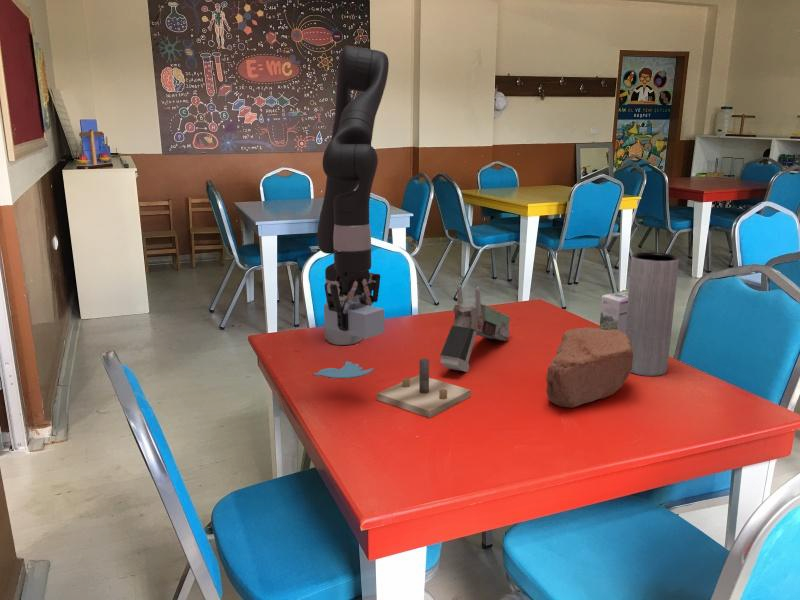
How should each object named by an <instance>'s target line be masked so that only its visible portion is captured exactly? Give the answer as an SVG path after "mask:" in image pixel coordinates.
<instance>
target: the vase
mask: <svg viewBox="0 0 800 600" xmlns="http://www.w3.org/2000/svg"><path fill="white" fill-rule="evenodd" d="M679 259H680V258H679V257H678V256H677V255H674V254H669V253H664V252H663V253H662V252H647V251H646V252H636V253H633V254H632V255H631V260H630V269H629V271H630V272H629V281H628V283H629V284H628V294H627V296H628V304H627V315H626V327H625V334H626V335H627V336H628V337H629V339H630V342H631V346H632V351H633V362H632V370H631V372H630V374H634V375H638V376H645V377H646V376H647V377H658V376H662V375H664V374H666V373H667V372H668V366H669V360H670V359H669V357H670V349H671V337H672V328H673V318H674V311H675V300H676V291H677V290H676V289H677V281H678V280H677V279H678V273H679V272H678V270H679V262H680V260H679Z"/></svg>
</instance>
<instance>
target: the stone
mask: <svg viewBox="0 0 800 600" xmlns="http://www.w3.org/2000/svg"><path fill="white" fill-rule="evenodd" d="M599 328H600V327H591V326H590V327H589V326H586V327H585V326H584V327H576V328H573V329H568V330H565V331H564V332H563V335H562V337H561V342H560V343H559V346H558V347H557V351H556V356H554V358H552V360H551V362H550V364H549V366H548V367H547V372H546V378H545V379H546V396H547V399H548V400H549V401H550V402H551V403H553V404H554V405H556V406H559V407H563V408H571V409H573V408H575V407H579V406H581V405H584V404H588V403H591V402H594V401H596V400H601V399H605V398H607V397H610V396H612V395H614V394H615V393H616V392H617V391H619V390H620V389H621V388H622V387H623V385H624V384H625V382H626V381H627V378H628V377H629V376H630V375H631V370H632V362H633V351H632V346H631V342H630V339H629V337H628V336H627V335H626V334H625V333H623V332H621V331H620V330H616V329H610V330H603V329H599Z"/></svg>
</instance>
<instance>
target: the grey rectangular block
mask: <svg viewBox="0 0 800 600" xmlns="http://www.w3.org/2000/svg"><path fill="white" fill-rule="evenodd" d="M343 304H344V302H343ZM343 304H342V307H343ZM324 313H325V326H324V329H325V328H329V329H332V330H336V331H339V332H343V333H346V334H350V335H353V336H357V337H360V338H362V339H365V340H366V339H369V338H373V337H377V336H380V335H382V334H385V333H386V332H385V330H386V328H385V308H381V307H376V306H373V305H372V306H369V305H365V304H361V303H356V302H351V303H350V304H349V308H348V312H347V313H348V331H342V330H340V329H339V328H338V324H337V312H334V311H330V310H329V308H328V304H326V303H325V304H323V314H324Z"/></svg>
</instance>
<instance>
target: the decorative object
mask: <svg viewBox="0 0 800 600" xmlns="http://www.w3.org/2000/svg"><path fill="white" fill-rule="evenodd" d="M344 362H345V364H344V365H343V366H342V367H340V368H339V369H338V368H335V367H326V368H323V369H320V370H319V371H318V372H314V373H313V374H317V375H315V376H314V377H324V376H325V377H324V378H328V377H331V378H330V379H336V378H346V379H354V378H353V377H355V378H360V377H363V376H366V375H368V374H371V373H372V372H373V371H374V367H372V368H369V369H364V370H363V367H362V366H360V365H359V364H358V363H355V364H354V363H353V362H351V361H344ZM371 371H372V372H371ZM320 375H322V376H320ZM362 375H363V376H362ZM359 376H360V377H359Z"/></svg>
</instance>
